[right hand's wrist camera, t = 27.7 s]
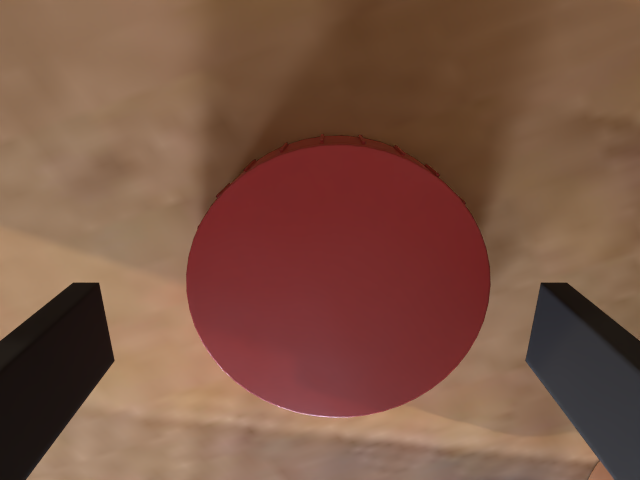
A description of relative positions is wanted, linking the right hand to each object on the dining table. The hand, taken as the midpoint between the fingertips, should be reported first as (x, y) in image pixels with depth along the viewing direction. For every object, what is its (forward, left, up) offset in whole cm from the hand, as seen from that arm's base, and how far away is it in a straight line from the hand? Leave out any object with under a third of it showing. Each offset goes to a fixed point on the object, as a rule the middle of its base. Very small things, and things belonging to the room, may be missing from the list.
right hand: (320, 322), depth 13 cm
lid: (0, 0, -2) cm, 2 cm away
